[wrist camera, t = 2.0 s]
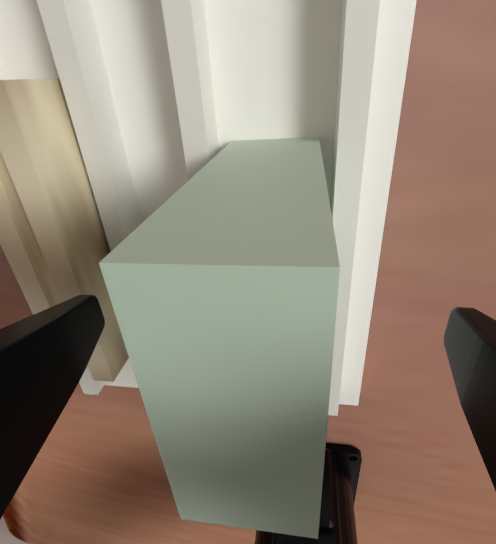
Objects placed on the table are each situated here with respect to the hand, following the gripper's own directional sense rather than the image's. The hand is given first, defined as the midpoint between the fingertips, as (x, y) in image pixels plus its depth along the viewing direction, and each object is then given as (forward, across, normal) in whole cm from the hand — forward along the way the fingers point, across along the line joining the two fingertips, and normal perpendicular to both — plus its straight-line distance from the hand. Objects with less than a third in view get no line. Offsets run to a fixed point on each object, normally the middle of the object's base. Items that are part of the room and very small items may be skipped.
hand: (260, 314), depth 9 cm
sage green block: (+6, 0, 0) cm, 6 cm away
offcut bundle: (+6, +8, 0) cm, 10 cm away
